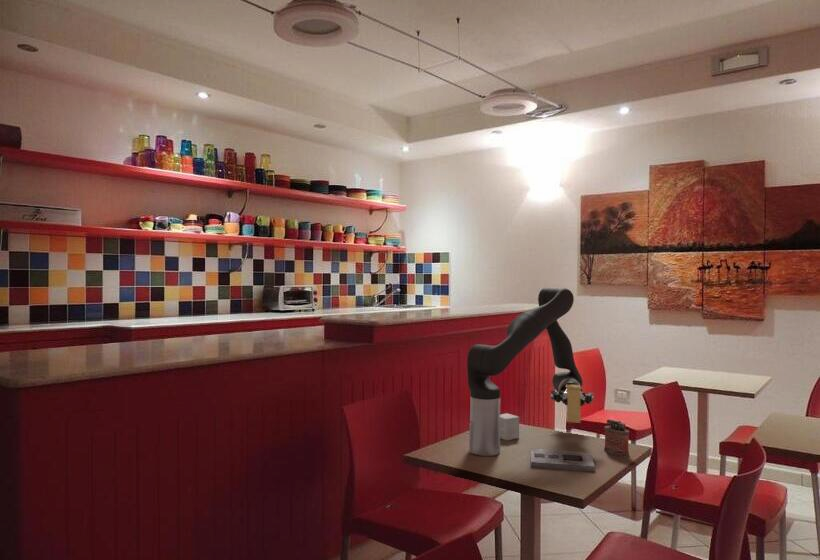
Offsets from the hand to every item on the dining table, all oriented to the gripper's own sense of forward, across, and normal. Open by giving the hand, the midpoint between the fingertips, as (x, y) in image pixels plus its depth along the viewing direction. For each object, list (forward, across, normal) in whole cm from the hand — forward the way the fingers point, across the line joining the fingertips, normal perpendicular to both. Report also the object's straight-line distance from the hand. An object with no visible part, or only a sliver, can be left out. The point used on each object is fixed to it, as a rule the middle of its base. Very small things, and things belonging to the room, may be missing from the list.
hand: (574, 402), depth 177 cm
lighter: (-2, +13, +16) cm, 21 cm away
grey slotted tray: (+11, -4, +15) cm, 19 cm away
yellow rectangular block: (-3, 0, +6) cm, 7 cm away
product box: (-12, -21, +16) cm, 29 cm away
